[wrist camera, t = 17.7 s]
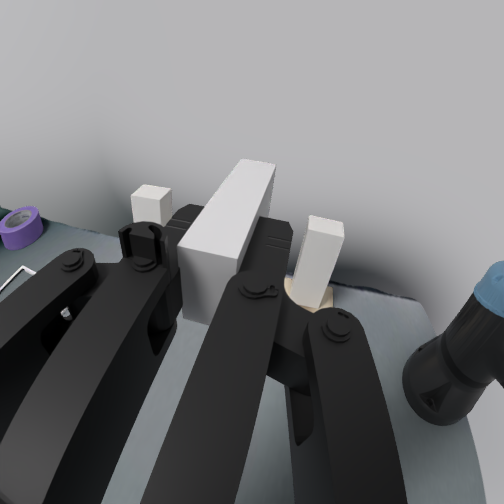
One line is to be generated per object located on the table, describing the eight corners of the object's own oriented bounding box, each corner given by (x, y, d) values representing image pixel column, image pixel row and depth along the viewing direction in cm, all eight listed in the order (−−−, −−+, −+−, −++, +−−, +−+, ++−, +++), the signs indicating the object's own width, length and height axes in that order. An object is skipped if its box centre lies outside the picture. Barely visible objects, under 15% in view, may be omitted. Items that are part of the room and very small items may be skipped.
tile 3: (175, 258, 52) (172, 187, 43) (165, 273, 48) (159, 200, 40) (151, 252, 52) (144, 183, 44) (140, 266, 49) (130, 195, 40)
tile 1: (319, 290, 49) (342, 221, 41) (318, 308, 46) (344, 237, 37) (290, 284, 49) (309, 213, 41) (288, 302, 46) (308, 229, 38)
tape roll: (-2, 242, 50) (-9, 225, 47) (29, 218, 59) (24, 202, 56) (17, 256, 48) (9, 237, 45) (51, 229, 57) (46, 211, 54)
